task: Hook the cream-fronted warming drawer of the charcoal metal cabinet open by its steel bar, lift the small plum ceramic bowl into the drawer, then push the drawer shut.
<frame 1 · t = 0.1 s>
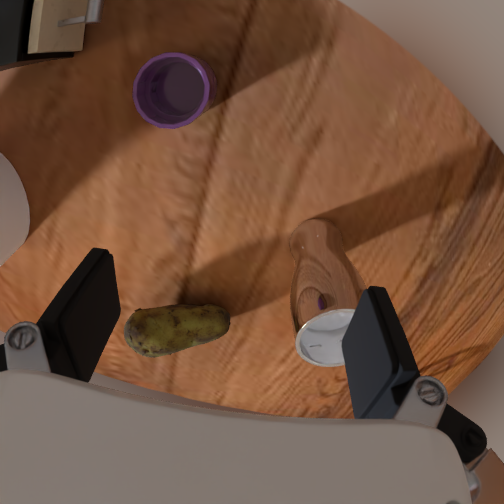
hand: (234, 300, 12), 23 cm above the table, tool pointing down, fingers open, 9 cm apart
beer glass: (315, 241, 36), on the table
bowl: (183, 87, 28), on the table
cabinet: (32, 16, 22), on the table
drawer: (36, 5, 18), point 5 cm above the table, slide at 0.5 cm
green rounded piece: (182, 308, 43), on the table
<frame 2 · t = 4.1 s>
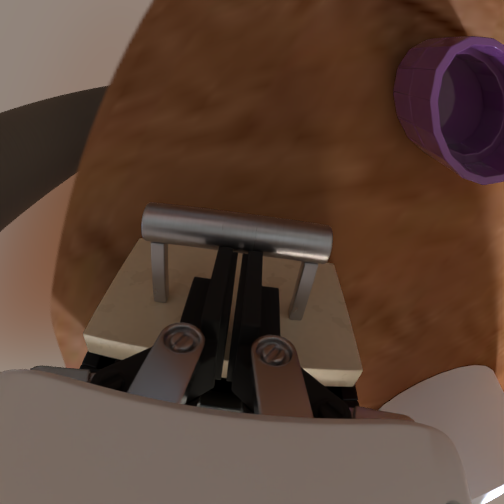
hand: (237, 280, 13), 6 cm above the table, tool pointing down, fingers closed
bowl: (444, 98, 14), on the table
cabinet: (225, 346, 24), on the table
drawer: (223, 352, 17), point 5 cm above the table, slide at 0.9 cm, touching gripper
cylinder: (433, 409, 30), on the table
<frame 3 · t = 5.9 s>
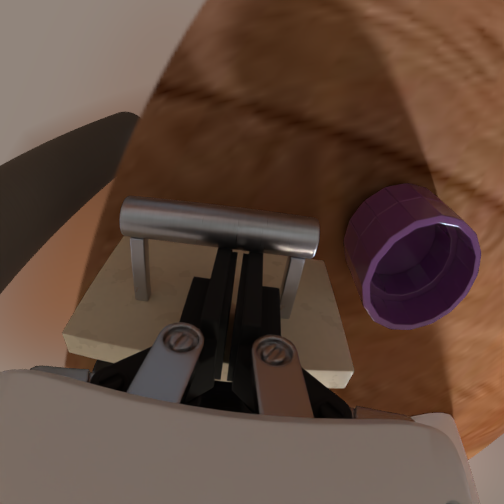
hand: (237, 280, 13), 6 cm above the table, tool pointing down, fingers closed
bowl: (395, 234, 18), on the table
drawer: (209, 353, 16), point 5 cm above the table, slide at 9.9 cm, touching gripper
cylinder: (395, 444, 34), on the table
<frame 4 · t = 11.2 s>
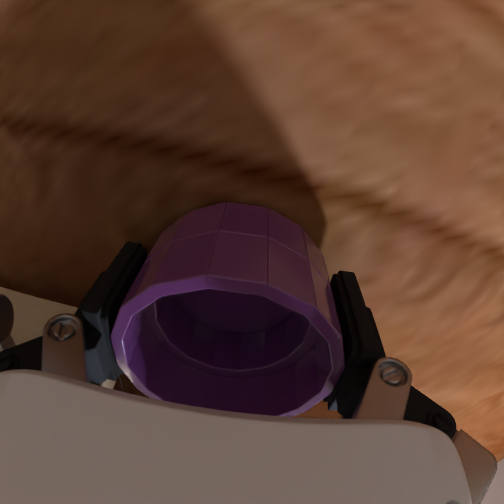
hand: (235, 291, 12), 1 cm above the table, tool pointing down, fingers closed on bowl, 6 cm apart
bowl: (237, 278, 13), on the table, touching gripper
drawer: (23, 403, 12), point 5 cm above the table, slide at 9.4 cm
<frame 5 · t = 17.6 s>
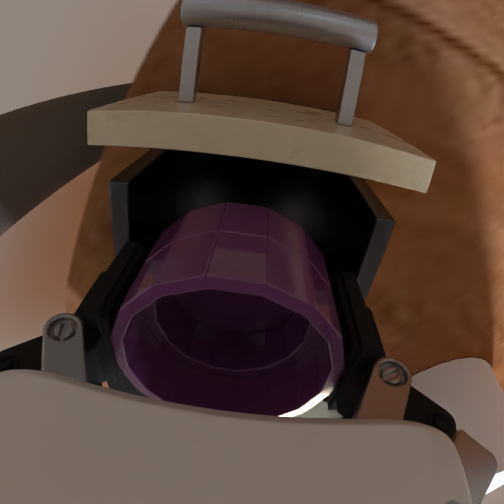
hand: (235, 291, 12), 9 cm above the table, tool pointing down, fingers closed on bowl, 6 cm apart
bowl: (237, 278, 13), point 8 cm above the table, touching gripper
cabinet: (232, 333, 25), on the table
drawer: (251, 201, 14), point 5 cm above the table, slide at 9.4 cm
cylinder: (431, 402, 32), on the table
when the fingers open (9 cm above the table, at t = 26.1 s): bowl drops 7 cm, resting on drawer.
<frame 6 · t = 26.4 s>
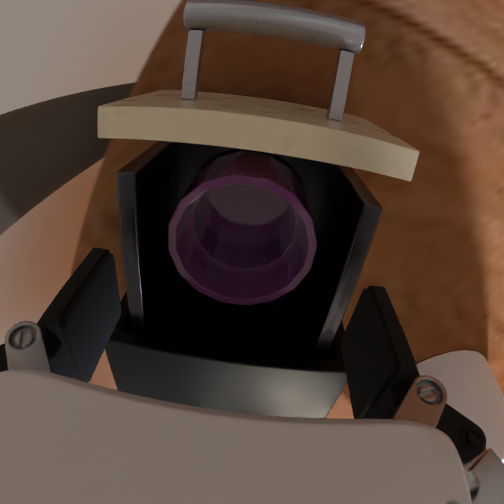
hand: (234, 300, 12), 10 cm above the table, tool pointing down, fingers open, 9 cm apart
bowl: (247, 206, 19), point 2 cm above the table, touching drawer
cabinet: (231, 324, 26), on the table
drawer: (249, 192, 15), point 5 cm above the table, slide at 9.5 cm, touching bowl
cylinder: (427, 395, 32), on the table
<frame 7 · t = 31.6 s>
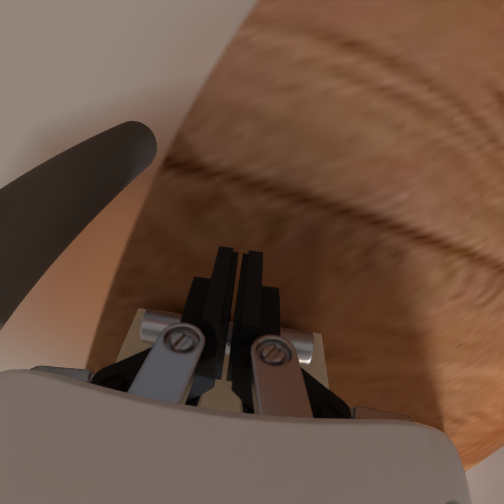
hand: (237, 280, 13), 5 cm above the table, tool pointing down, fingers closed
drawer: (217, 411, 18), point 5 cm above the table, slide at 9.0 cm, touching bowl, gripper
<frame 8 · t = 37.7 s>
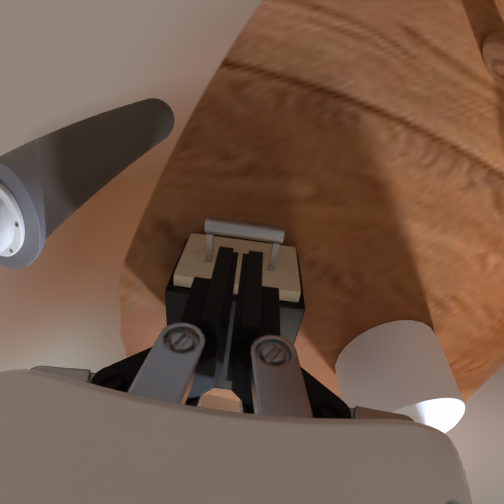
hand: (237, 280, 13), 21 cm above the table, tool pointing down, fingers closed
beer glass: (499, 56, 22), on the table
cabinet: (236, 293, 40), on the table
drawer: (236, 293, 34), point 5 cm above the table, slide at 0.0 cm, touching bowl
cylinder: (387, 358, 46), on the table
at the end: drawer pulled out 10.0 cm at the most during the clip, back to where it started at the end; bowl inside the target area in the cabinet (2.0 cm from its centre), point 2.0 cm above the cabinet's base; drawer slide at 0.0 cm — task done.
